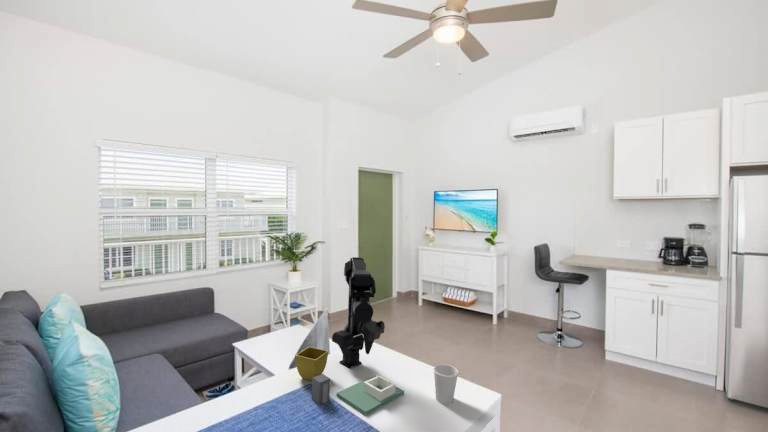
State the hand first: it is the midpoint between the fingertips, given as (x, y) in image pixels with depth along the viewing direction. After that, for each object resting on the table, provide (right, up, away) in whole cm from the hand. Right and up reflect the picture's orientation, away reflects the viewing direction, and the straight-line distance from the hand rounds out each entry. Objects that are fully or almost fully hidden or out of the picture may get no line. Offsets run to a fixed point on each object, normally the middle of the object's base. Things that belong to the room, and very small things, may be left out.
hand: (357, 358), depth 114 cm
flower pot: (-18, -12, +12) cm, 25 cm away
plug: (-12, -13, -2) cm, 17 cm away
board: (+4, -13, +2) cm, 14 cm away
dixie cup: (+29, -15, +2) cm, 32 cm away
